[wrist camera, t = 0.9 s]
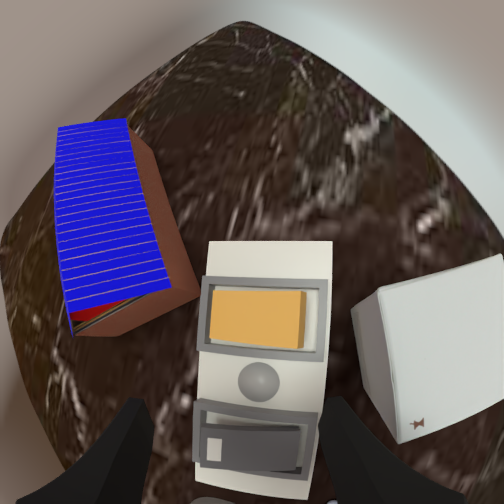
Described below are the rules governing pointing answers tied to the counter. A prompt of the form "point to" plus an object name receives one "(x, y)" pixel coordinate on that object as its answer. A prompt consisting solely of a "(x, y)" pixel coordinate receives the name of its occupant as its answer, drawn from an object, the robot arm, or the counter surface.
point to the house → (115, 231)
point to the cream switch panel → (265, 359)
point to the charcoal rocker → (249, 447)
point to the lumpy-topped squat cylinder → (210, 501)
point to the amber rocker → (259, 317)
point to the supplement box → (433, 347)
